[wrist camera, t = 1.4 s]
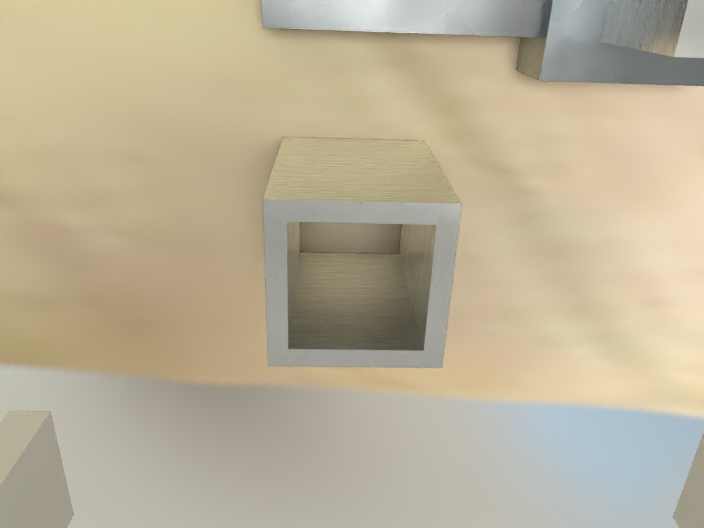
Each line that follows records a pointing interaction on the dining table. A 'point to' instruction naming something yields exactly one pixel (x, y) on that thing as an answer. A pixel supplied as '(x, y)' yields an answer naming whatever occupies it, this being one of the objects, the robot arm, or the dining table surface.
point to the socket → (359, 255)
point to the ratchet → (536, 32)
